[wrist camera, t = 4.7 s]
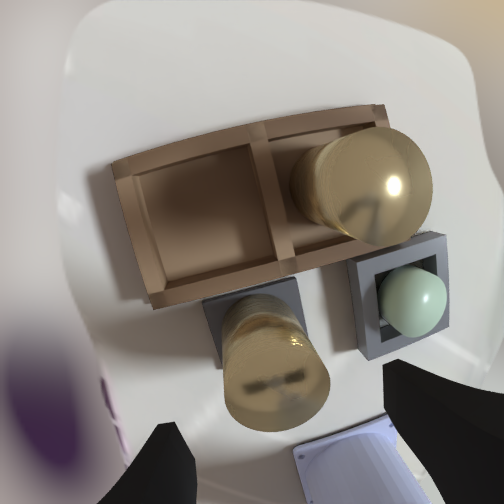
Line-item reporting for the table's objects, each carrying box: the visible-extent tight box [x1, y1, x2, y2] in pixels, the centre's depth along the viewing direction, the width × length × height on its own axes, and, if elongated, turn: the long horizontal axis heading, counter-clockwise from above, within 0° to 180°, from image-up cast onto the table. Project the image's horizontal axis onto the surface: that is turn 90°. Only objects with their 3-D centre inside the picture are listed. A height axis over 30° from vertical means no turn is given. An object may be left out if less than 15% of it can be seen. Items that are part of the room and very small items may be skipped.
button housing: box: [346, 231, 449, 361], centre depth 17 cm, size 6×6×2 cm
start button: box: [377, 265, 447, 338], centre depth 16 cm, size 4×4×2 cm
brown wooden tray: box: [111, 104, 411, 310], centre depth 15 cm, size 8×14×2 cm, turn 103°
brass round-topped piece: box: [289, 127, 433, 247], centre depth 13 cm, size 4×4×6 cm
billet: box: [221, 293, 330, 432], centre depth 14 cm, size 4×4×6 cm
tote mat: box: [202, 277, 308, 366], centre depth 17 cm, size 4×5×1 cm
